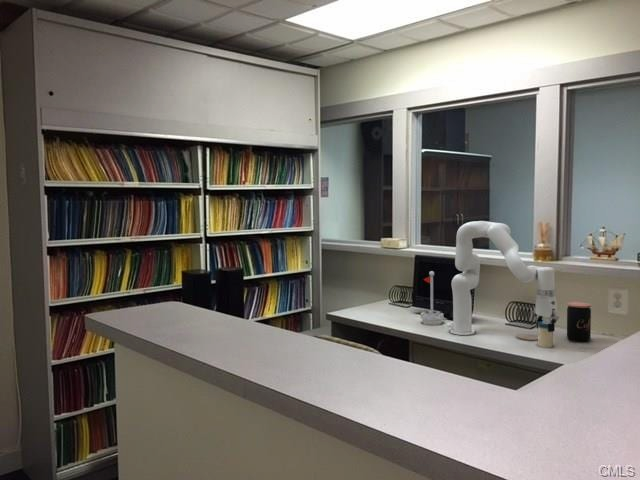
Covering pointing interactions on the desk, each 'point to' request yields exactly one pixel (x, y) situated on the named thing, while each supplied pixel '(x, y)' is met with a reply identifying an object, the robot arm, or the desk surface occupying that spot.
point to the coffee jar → (579, 321)
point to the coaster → (528, 337)
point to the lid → (543, 324)
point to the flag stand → (431, 317)
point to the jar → (545, 337)
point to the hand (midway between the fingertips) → (545, 329)
